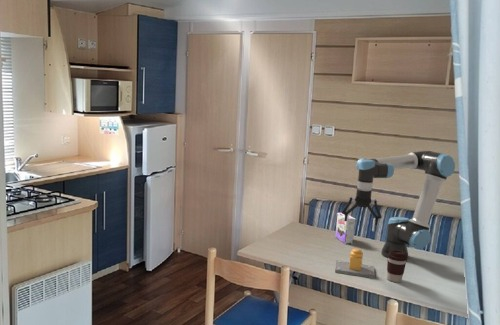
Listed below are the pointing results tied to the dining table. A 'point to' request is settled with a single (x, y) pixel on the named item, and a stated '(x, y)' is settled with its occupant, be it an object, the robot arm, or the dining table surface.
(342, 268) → the plate
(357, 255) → the wire nut
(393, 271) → the coffee cup
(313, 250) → the dining table surface
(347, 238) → the candy box
